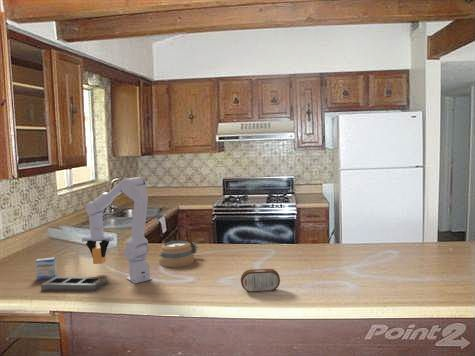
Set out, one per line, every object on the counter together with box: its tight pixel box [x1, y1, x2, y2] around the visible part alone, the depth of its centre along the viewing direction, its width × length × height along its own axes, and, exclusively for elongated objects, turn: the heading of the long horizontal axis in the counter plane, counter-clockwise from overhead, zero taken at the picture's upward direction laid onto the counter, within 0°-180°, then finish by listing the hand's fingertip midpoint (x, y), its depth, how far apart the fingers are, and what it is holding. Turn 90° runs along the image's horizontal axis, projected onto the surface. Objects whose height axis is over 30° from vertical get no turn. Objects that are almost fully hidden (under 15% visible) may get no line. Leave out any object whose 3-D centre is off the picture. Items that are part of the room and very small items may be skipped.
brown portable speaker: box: [240, 268, 281, 293], centre depth 157 cm, size 15×3×8 cm, turn 92°
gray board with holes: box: [40, 276, 108, 292], centre depth 172 cm, size 24×10×2 cm, turn 81°
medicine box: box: [35, 256, 58, 281], centre depth 185 cm, size 8×4×9 cm, turn 105°
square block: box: [91, 245, 107, 265], centre depth 187 cm, size 4×4×7 cm
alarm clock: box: [158, 240, 199, 268], centre depth 203 cm, size 17×9×23 cm
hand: (99, 256), depth 187 cm, fingers closed on square block, 4 cm apart
